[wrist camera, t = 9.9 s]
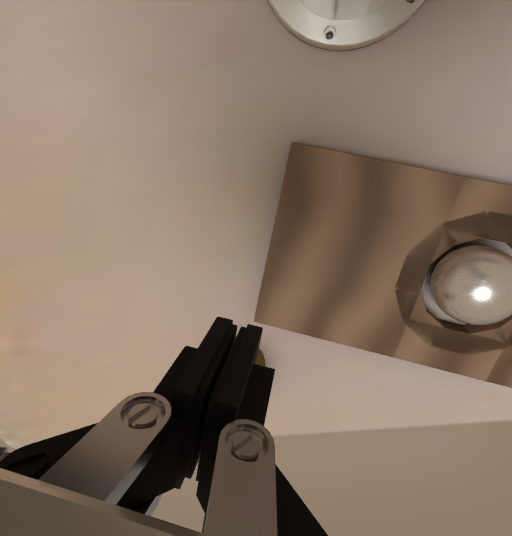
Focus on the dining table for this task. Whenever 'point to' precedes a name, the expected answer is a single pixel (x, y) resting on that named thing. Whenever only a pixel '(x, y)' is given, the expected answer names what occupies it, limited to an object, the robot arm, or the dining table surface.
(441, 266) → the ball
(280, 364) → the dining table surface
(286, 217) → the board
